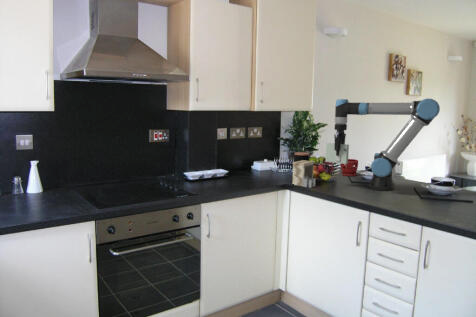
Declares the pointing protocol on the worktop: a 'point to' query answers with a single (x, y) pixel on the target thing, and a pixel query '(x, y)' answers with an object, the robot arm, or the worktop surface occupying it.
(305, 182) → the hinge clips
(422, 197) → the worktop surface
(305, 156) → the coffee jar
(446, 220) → the worktop surface
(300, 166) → the cabinet
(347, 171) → the plant pot
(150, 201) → the worktop surface
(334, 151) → the cabinet door
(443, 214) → the worktop surface
